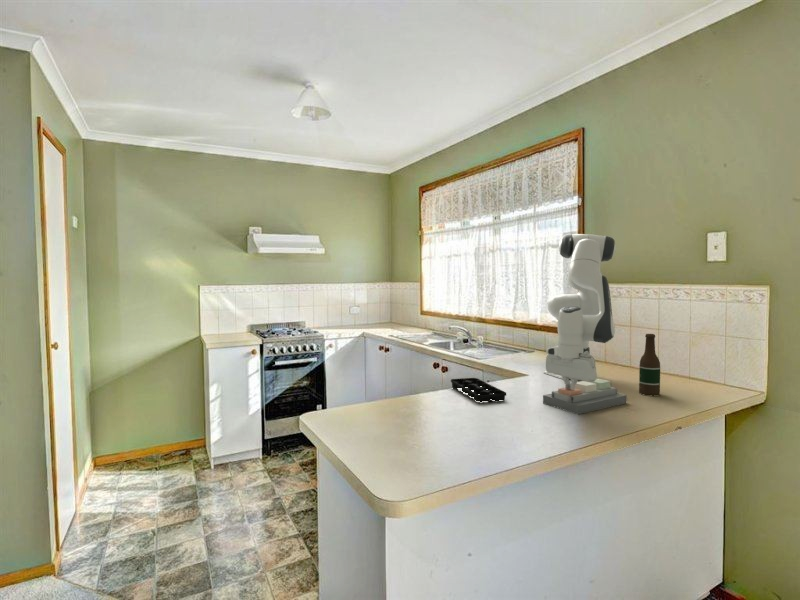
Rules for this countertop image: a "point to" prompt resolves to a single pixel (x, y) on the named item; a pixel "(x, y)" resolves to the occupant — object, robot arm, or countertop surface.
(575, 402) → the keypad
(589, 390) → the cream key
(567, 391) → the terracotta key
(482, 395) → the egg carton
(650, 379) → the beer bottle
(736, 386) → the countertop surface
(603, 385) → the sage key
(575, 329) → the robot arm
